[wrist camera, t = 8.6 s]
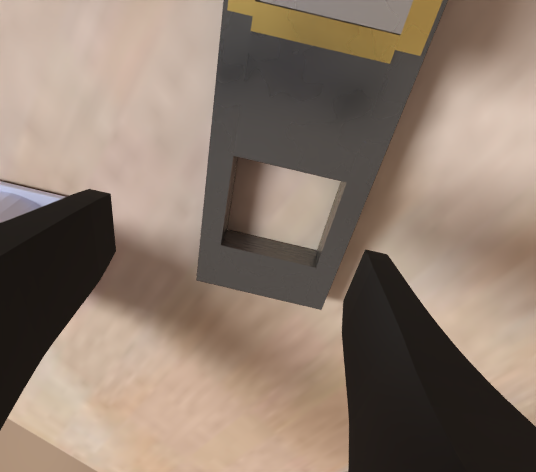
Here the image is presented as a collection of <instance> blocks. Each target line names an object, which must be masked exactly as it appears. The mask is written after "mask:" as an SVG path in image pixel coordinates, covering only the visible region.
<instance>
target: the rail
mask: <svg viewBox="0 0 536 472" xmlns="http://www.w3.org/2000/svg"><path fill="white" fill-rule="evenodd" d="M447 1H448V0H413V2H412V5H411V8H410V11H409V13H408V16H407V19H406V22H405V24H404V27H403V30H402V33H401V34H398V33H393V32H389V31H385V30H381V29H377V28H372V27H368V26H364V25H360V24H356V23H351V22H347V21H343V20H339V19H335V18H330V17H326V16H322V15H318V14H314V13H309V12H305V11H301V10H297V9H293V8H288V7H284V6H280V5H276V4H272V3H267V2H263V1H260V0H224V3H223V13H222V24H221V34H220V44H219V54H218V64H217V75H216V85H215V95H214V105H213V116H212V126H211V136H210V146H209V156H208V167H207V177H206V187H205V197H204V207H203V218H202V228H201V238H200V248H199V259H198V269H197V279H196V280H197V281H201V282H206V283H210V284H214V285H218V286H223V287H227V288H231V289H235V290H240V291H244V292H248V293H252V294H256V295H261V296H265V297H269V298H273V299H278V300H282V301H286V302H290V303H295V304H299V305H303V306H307V307H312V308H316V309H320V310H321V309H322V307H323V305H324V302H325V300H326V297H327V295H328V292H329V290H330V287H331V285H332V283H333V280H334V278H335V275H336V273H337V270H338V268H339V265H340V263H341V260H342V258H343V256H344V253H345V251H346V248H347V246H348V243H349V241H350V238H351V236H352V234H353V231H354V229H355V226H356V224H357V221H358V219H359V216H360V214H361V212H362V209H363V207H364V204H365V202H366V199H367V197H368V194H369V192H370V190H371V187H372V185H373V182H374V180H375V177H376V175H377V172H378V170H379V168H380V165H381V163H382V160H383V158H384V155H385V153H386V150H387V148H388V145H389V143H390V141H391V138H392V136H393V133H394V131H395V128H396V126H397V123H398V121H399V119H400V116H401V114H402V111H403V109H404V106H405V104H406V101H407V99H408V97H409V94H410V92H411V89H412V87H413V84H414V82H415V79H416V77H417V75H418V72H419V70H420V67H421V65H422V62H423V60H424V57H425V55H426V53H427V50H428V48H429V45H430V43H431V40H432V38H433V35H434V33H435V30H436V28H437V26H438V23H439V21H440V18H441V16H442V13H443V11H444V8H445V6H446V4H447ZM238 157H241V158H245V159H249V160H254V161H258V162H262V163H266V164H270V165H275V166H279V167H283V168H287V169H292V170H296V171H300V172H304V173H309V174H313V175H317V176H321V177H325V178H330V179H334V180H338V181H341V183H340V186H339V189H338V192H337V194H336V197H335V200H334V203H333V206H332V209H331V212H330V215H329V217H328V220H327V223H326V226H325V229H324V232H323V235H322V238H321V240H320V243H319V246H318V249H317V251H316V250H312V249H308V248H303V247H299V246H295V245H291V244H286V243H282V242H278V241H274V240H269V239H265V238H261V237H257V236H252V235H248V234H244V233H240V232H236V231H231V230H227V226H228V220H229V213H230V206H231V200H232V193H233V186H234V180H235V173H236V166H237V160H238Z"/></svg>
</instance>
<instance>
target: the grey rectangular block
mask: <svg viewBox="0 0 536 472" xmlns="http://www.w3.org/2000/svg"><path fill="white" fill-rule="evenodd" d="M260 1H263V2H267V3H272V4H276V5H280V6H284V7H288V8H293V9H297V10H301V11H305V12H309V13H314V14H318V15H322V16H326V17H330V18H335V19H339V20H343V21H347V22H351V23H356V24H360V25H364V26H368V27H372V28H377V29H381V30H385V31H389V32H393V33H398V34H401V33H402V30H403V27H404V24H405V22H406V19H407V16H408V13H409V11H410V8H411V5H412V2H413V0H260Z"/></svg>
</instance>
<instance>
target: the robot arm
mask: <svg viewBox="0 0 536 472" xmlns="http://www.w3.org/2000/svg"><path fill="white" fill-rule="evenodd" d="M115 252H116V246H115V236H114V225H113V215H112V204H111V194H109V193H105V192H100V191H96V190H91V189H88V190H85V191H81V192H78V193H76V194H73V195H70V196H68V197H65V196H61V195H57V194H52V193H48V192H44V191H40V190H35V189H31V188H27V187H23V186H18V185H14V184H10V183H6V182H2V181H0V430H1V428H2V426H3V424H4V423H5V421H6V419H7V417H8V416H9V414H10V412H11V410H12V409H13V407H14V405H15V403H16V402H17V400H18V398H19V396H20V395H21V393H22V391H23V389H24V388H25V386H26V384H27V383H28V381H29V379H30V378H31V376H32V374H33V373H34V371H35V370H36V368H37V366H38V365H39V363H40V361H41V360H42V358H43V357H44V355H45V354H46V352H47V351H48V349H49V348H50V346H51V345H52V344H53V342H54V341H55V340H56V338H57V337H58V336H59V334H60V333H61V332H62V330H63V329H64V328H65V326H66V325H67V324H68V322H69V321H70V320H71V318H72V317H73V316H74V314H75V313H76V312H77V310H78V309H79V308H80V306H81V305H82V304H83V302H84V301H85V300H86V298H87V297H88V296H89V294H90V293H91V292H92V290H93V289H94V288H95V286H96V285H97V283H98V282H99V281H100V279H101V277H102V276H103V274H104V272H105V270H106V269H107V267H108V265H109V263H110V261H111V259H112V257H113V255H114V253H115ZM342 340H343V353H344V364H345V376H346V387H347V398H348V411H349V472H536V427H535V426H534V425H533V424H532V423H531V422H530V421H529V420H528V419H527V418H526V417H525V416H524V415H522V414H521V413H520V412H519V411H518V410H517V409H516V408H515V407H514V406H513V405H512V404H511V403H510V402H508V401H507V400H506V399H505V398H504V397H503V396H502V395H501V394H500V393H499V392H498V391H497V390H496V389H495V388H494V387H493V386H492V385H491V384H490V383H489V382H488V381H487V380H486V379H485V378H484V377H483V375H482V374H481V373H480V372H479V371H478V370H477V369H476V368H475V367H474V366H473V365H472V364H471V363H470V362H469V361H468V360H467V359H466V357H465V356H464V355H463V354H462V353H461V352H460V351H459V349H458V348H457V347H456V346H455V345H454V344H453V342H452V341H451V340H450V339H449V338H448V336H447V335H446V334H445V333H444V331H443V330H442V329H441V328H440V327H439V325H438V324H437V323H436V322H435V320H434V319H433V318H432V316H431V315H430V314H429V312H428V311H427V310H426V308H425V307H424V306H423V304H422V303H421V302H420V300H419V299H418V298H417V296H416V295H415V293H414V292H413V291H412V289H411V288H410V286H409V285H408V283H407V282H406V281H405V279H404V278H403V276H402V275H401V273H400V272H399V270H398V269H397V268H396V266H395V265H394V263H393V262H392V260H391V259H390V258H389V256H388V255H387V254H383V253H378V252H374V251H369V250H365V252H364V254H363V256H362V259H361V261H360V263H359V266H358V268H357V270H356V273H355V275H354V277H353V280H352V282H351V284H350V287H349V289H348V291H347V294H346V296H345V298H344V301H343V318H342Z"/></svg>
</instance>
